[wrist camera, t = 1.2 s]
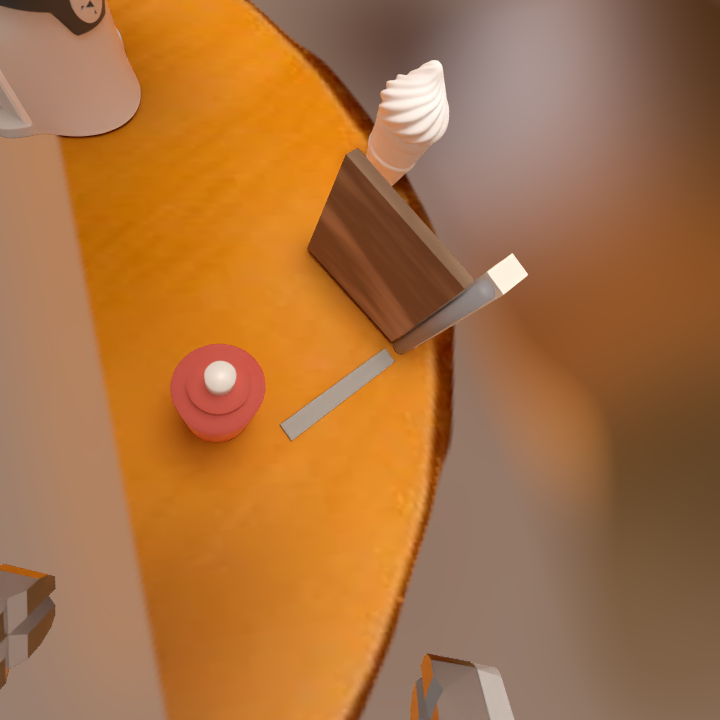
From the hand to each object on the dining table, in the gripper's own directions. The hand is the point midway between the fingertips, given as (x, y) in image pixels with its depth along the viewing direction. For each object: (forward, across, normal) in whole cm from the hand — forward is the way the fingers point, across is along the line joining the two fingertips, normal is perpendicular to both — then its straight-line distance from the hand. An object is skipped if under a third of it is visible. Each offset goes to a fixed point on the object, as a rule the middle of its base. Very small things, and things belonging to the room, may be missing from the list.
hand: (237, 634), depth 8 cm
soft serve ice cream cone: (+49, +2, -20) cm, 53 cm away
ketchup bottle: (+26, +11, +8) cm, 30 cm away
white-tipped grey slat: (+34, -2, +3) cm, 35 cm away
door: (+39, +1, -6) cm, 39 cm away
